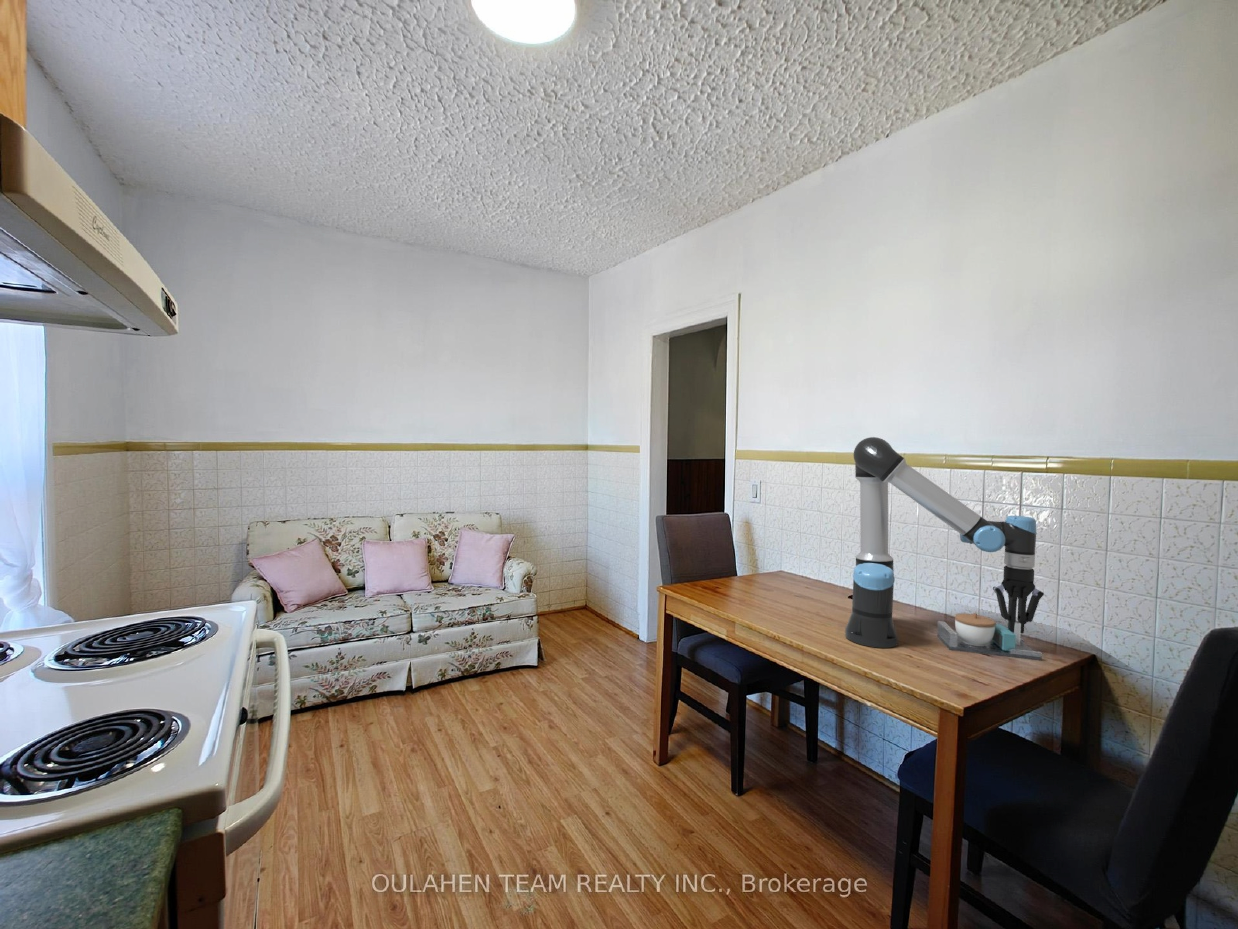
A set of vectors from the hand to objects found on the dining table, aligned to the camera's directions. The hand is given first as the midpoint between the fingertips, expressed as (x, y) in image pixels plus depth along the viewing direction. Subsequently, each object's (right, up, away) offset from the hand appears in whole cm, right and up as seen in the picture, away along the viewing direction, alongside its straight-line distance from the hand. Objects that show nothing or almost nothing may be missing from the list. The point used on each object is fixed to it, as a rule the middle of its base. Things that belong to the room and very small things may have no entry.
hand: (1015, 642), depth 166 cm
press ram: (-4, -1, +1) cm, 4 cm away
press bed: (-7, -2, +2) cm, 8 cm away
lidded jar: (-11, -1, +3) cm, 11 cm away
